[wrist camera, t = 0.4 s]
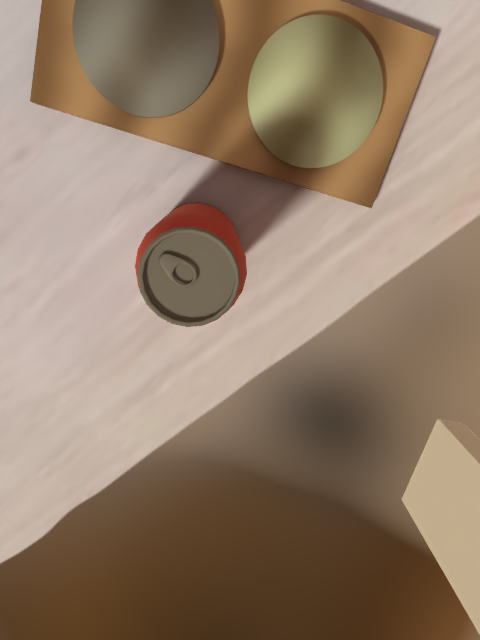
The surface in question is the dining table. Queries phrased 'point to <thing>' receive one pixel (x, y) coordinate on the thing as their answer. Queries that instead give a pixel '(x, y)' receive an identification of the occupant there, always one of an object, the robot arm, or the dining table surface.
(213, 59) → the seat board
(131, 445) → the dining table surface
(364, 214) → the dining table surface
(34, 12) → the dining table surface
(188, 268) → the beer can
